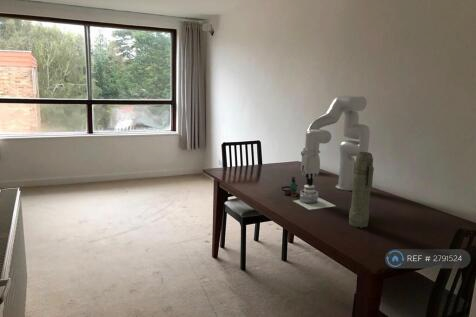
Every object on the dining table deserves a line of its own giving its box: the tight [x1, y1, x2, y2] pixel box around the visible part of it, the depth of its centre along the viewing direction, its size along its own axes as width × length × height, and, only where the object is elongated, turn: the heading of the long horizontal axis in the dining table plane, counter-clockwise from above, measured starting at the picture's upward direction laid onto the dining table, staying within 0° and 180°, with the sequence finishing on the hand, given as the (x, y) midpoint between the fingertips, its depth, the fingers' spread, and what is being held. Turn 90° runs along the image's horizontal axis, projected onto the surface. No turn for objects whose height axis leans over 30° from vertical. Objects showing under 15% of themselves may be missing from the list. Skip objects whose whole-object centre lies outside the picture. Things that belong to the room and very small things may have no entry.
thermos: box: [348, 151, 375, 229], centre depth 168 cm, size 9×12×35 cm
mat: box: [293, 197, 336, 211], centre depth 200 cm, size 18×16×1 cm
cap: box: [303, 184, 316, 194], centre depth 202 cm, size 6×6×5 cm
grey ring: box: [299, 189, 319, 204], centre depth 203 cm, size 10×10×6 cm
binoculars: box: [280, 176, 299, 197], centre depth 216 cm, size 9×11×10 cm
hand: (309, 185), depth 201 cm, fingers closed
